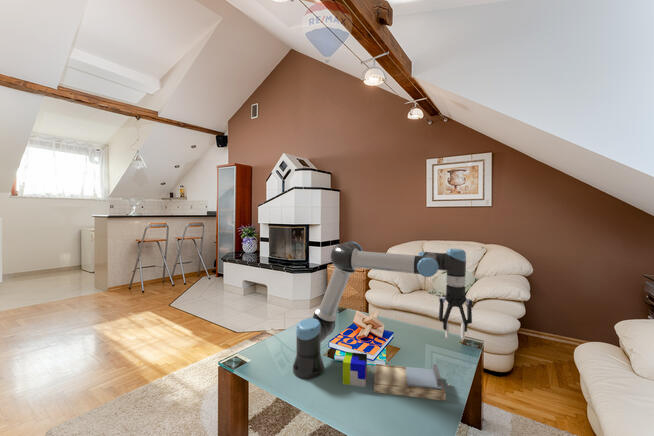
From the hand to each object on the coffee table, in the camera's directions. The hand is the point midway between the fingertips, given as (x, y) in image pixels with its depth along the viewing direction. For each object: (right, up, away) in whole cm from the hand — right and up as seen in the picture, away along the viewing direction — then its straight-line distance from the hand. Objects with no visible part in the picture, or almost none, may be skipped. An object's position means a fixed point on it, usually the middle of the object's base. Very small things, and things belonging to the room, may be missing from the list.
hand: (454, 337), depth 130 cm
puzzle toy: (-42, -23, +8) cm, 49 cm away
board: (-19, -23, +5) cm, 30 cm away
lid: (-13, -19, +3) cm, 23 cm away
